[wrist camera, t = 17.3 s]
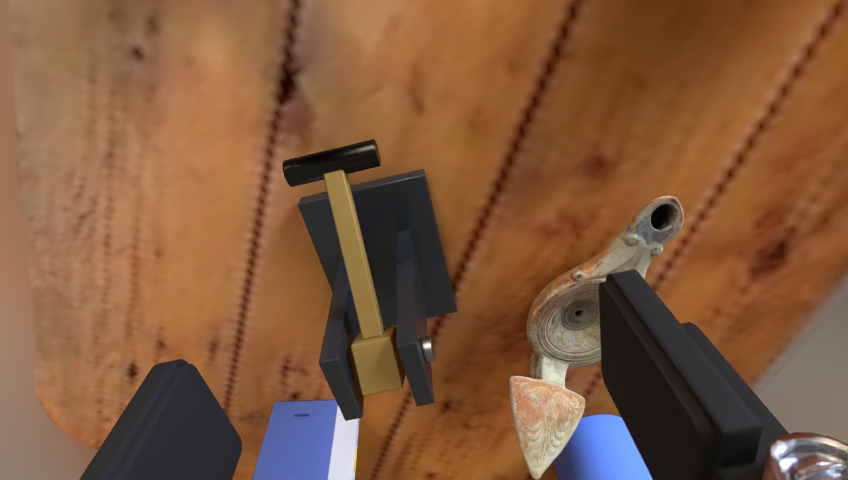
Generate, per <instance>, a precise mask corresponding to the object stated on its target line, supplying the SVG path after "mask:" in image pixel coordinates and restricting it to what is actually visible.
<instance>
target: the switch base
mask: <svg viewBox="0 0 848 480" xmlns="http://www.w3.org/2000/svg"><path fill="white" fill-rule="evenodd" d="M350 188H351V192H352V196H353V201H354V205H355V209H356V213H357V217H358V222H359V226H360V230H361V234H362V238H363V243H364V247H365V251H366V255H367V259H368V264H369V268H370V272H371V276H372V280H373V285H374V289H375V293H376V297H377V301H378V306H379V310H380V314H381V318H382V322H383V327H387V326H392V325H397V349H398V352H399V355H400V358H401V361H402V364H403V367H404V370H405V373H406V376H407V379H408V382H409V385H410V388H411V391H412V394H413V397H414V400H415V403H416V405H417V406H422V405H427V404H432V403H434V392H433V381H432V371H431V362H434V361H435V352H434V347H433V342H432V339H431V337H430V336H428V330H427V320H426V318H429V317H434V316H438V315H443V314H448V313H452V312H457V307H456V302H455V298H454V294H453V290H452V286H451V281H450V277H449V273H448V269H447V265H446V260H445V256H444V252H443V248H442V244H441V239H440V235H439V231H438V227H437V223H436V219H435V214H434V210H433V206H432V202H431V198H430V193H429V189H428V185H427V181H426V177H425V172H424V169H422V170H417V171H413V172H409V173H405V174H400V175H396V176H392V177H388V178H383V179H379V180H375V181H371V182H366V183H362V184H358V185H354V186H350ZM298 206H299V208H300V211H301V213H302V216H303V218H304V221H305V223H306V226H307V229H308V231H309V234H310V236H311V239H312V241H313V244H314V246H315V249H316V251H317V254H318V256H319V259H320V261H321V264H322V266H323V269H324V272H325V274H326V277H327V279H328V282H329V284H330V287H331V289H332V292H333V296H332V301H331V305H330V310H329V315H328V320H327V325H326V330H325V335H324V340H323V345H322V350H321V355H320V360H319V365H320V367H321V369H322V371H323V373H324V375H325V378H326V381H327V382H328V384H329V386H330V389H331V391H332V393H333V395H334V397H335V400H336V402H337V404H338V406H339V408H340V411H341V413H342V415H343V417H344V419H345V421H348V420H353V419H358V418H362V416H363V402H364V396H363V395H362V391H361V387H360V382H359V378H358V374H357V370H356V366H355V362H354V358H353V354H352V350H351V345H352V344H353V342H354V341H355V339H356V338H357V336H358V334H360V333H361V329H360V325H359V321H358V317H357V313H356V309H355V305H354V300H353V296H352V292H351V288H350V284H349V280H348V276H347V271H346V267H345V263H344V259H343V255H342V251H341V247H340V242H339V238H338V234H337V230H336V226H335V222H334V218H333V213H332V209H331V205H330V201H329V197H328V193H327V192H324V193H319V194H315V195H311V196H307V197H302V198H301V199H300V201H299V204H298Z"/></svg>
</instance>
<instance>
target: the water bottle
mask: <svg viewBox="0 0 848 480" xmlns="http://www.w3.org/2000/svg"><path fill="white" fill-rule="evenodd" d="M553 465H554V468H555V471H556V474H557V477H558V480H653V479H652V477H651V475H650V473H649V471H648V469H647V467H646V465H645V463H644V461H643V459H642V457H641V455H640V453H639V451H638V449H637V447H636V445H635V443H634V441H633V439H632V437H631V435H630V433H629V431H628V429H627V427H626V425H625V423H624V421H623V419H622V418H621V417H618V416H614V415H592V416H588V417H584V418H581V419H580V421H579V423H578V425H577V427H576V429H575V431H574V433H573V434H572V436H571V437H570V439H569V441H568V442H567V444H566V445H565V447H564V448H563V450H562V451H561V453H560V454H559V455H558V456H557V457H556V458H555V459H554V461H553Z"/></svg>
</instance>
